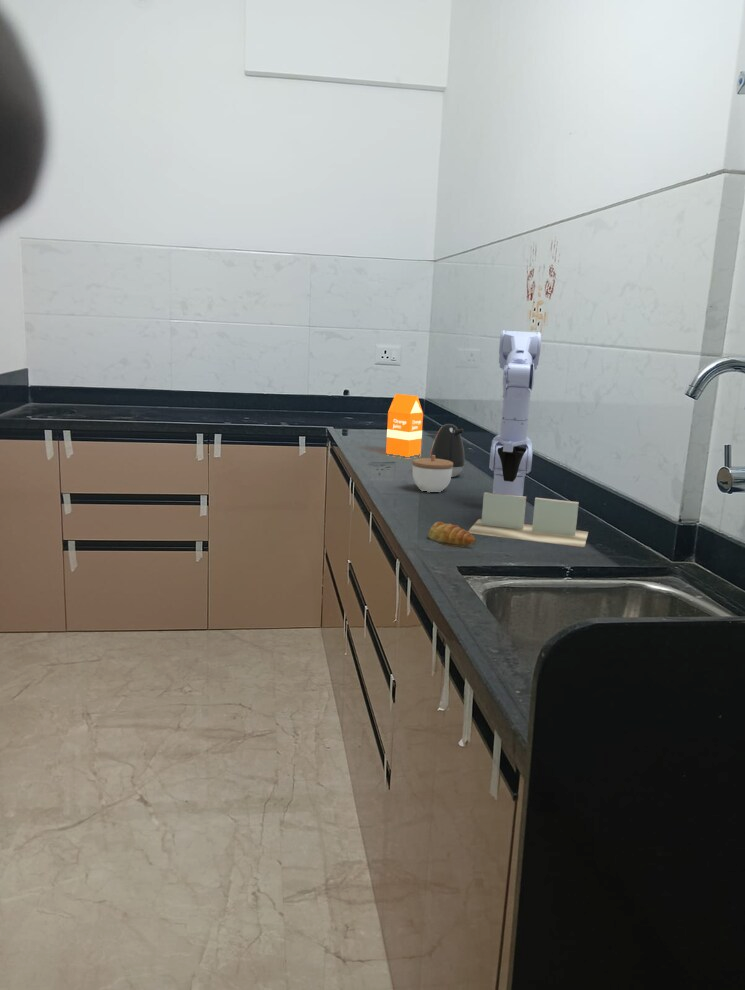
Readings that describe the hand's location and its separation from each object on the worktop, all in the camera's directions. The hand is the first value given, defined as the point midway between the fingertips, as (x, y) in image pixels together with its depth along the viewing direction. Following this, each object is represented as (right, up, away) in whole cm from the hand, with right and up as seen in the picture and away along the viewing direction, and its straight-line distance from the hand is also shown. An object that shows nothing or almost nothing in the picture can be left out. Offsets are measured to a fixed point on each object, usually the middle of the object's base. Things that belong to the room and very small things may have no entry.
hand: (509, 480), depth 184 cm
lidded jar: (-15, -2, +35) cm, 38 cm away
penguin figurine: (-9, +2, +57) cm, 58 cm away
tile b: (+8, -11, -6) cm, 15 cm away
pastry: (-15, -13, -16) cm, 25 cm away
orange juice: (-20, +10, +90) cm, 93 cm away
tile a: (-2, -10, -3) cm, 11 cm away
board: (+3, -12, -7) cm, 14 cm away
